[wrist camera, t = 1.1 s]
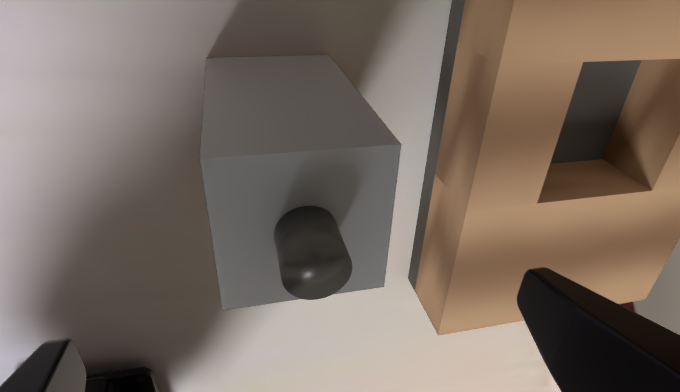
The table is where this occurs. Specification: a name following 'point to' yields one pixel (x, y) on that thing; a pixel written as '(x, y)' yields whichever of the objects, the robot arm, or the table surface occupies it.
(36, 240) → the table surface
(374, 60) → the table surface
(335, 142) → the plug
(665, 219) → the socket block
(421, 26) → the table surface
